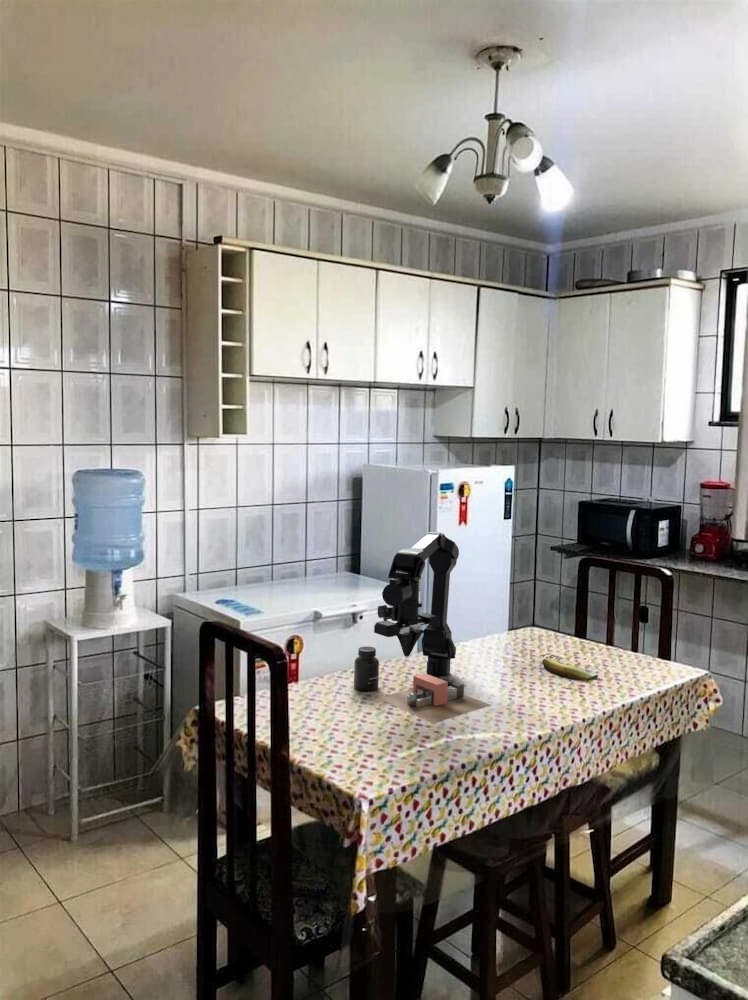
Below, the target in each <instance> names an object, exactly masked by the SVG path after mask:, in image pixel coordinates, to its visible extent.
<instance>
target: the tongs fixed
mask: <svg viewBox="0 0 748 1000" xmlns="http://www.w3.org/2000/svg"><path fill="white" fill-rule="evenodd" d="M442 680H444V681H447V682H448V687H449V686H451V683H455V680H454V679H451V678H448V677H447V678H444V679H442ZM429 691H432V690H429V689H427V688H424V687H422V688H418V689H417V693H409V696H407V703H408V704H409V706H410V707H416V700H417V699H421V698H425V697H426V692H429Z"/></svg>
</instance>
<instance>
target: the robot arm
mask: <svg viewBox="0 0 748 1000" xmlns="http://www.w3.org/2000/svg"><path fill="white" fill-rule="evenodd" d="M459 554H460V550H459V547H458V545H457V544H456V542H455V541H453V540H452V539H449V538H448V537H446V535H445V534H444V533H442V532H437V531H428V532H426V533H425V535H424V537H422V538H421V539H420V540H419V541H418V542H417V543H415V544H414V545H413V546H411V547H410V548H409V547H408V548H403V549H400V550H398V551H397V552H396V553H395V555H394V556H393V559H392V562H391V566H390V569H389V572H388V576H387V578H388V579H389V584H387V585H386V586H384V588H383V590H382V592H381V596H382V600H383V602H384V603H385V604H384V605H378V606H377V616H378V617H377V618H379V619H382V620H381V621H377V622H376V623H375V624H374V626H373V628H374V629H373V633H374V634H377V635H379V636H383V637H386V638H392V637H397V639H398V641H399V644H400V648H401V650H402V653H403V656H404V657H406V658H408V657H410V656H411V654H412V652H413V650H414V648H415V646H416V643H417V642H418V640H419V639H420V637H421V635H422V634H423V635H422V637H421V650H422V656H424V657H425V656H426V657H427V662H426V674H428V675H431V676H433V677H436V678H445V677H447V676H449V674H451V660H452V659H456V653H457V648H456V646H455V643H454V641H453V639H452V630H451V628H450V627H449V624H448V610H449V609H448V607H449V595H450V594H449V592H450V579H451V572H452V571H453V569H454V568H455V567H456V566H457V561H458V558H459ZM427 559H428V564H429V566H430V568H431V570H432V571H433V577H432V578H433V579H432V594H431V607H430V613H428V612H424V613H419V611H420V608H422V607H423V602H420V580H421V579H422V574H423V571H424V569H425V568H426V562H425V561H426V560H427ZM387 605H388V606H390V607H388V606H387ZM390 620H391V621H390ZM423 625H424V626H426V625H427V626H426V627H425V628H424V629H423V630H422V629H421V626H423Z"/></svg>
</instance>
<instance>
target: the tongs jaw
mask: <svg viewBox="0 0 748 1000" xmlns="http://www.w3.org/2000/svg"><path fill="white" fill-rule="evenodd" d="M464 691H465V684H464V683H462V682H458V681H456V682H455V681H454V683H451V686H449V687H448V693H447V701H448V700H452V699H456V698H461V697H464V695H465V694H464V693H465V692H464ZM433 704H434V691H429V692H426V697H425V698H421V699H417V700H416V707H422V706H426V705H433Z"/></svg>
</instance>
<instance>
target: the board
mask: <svg viewBox="0 0 748 1000" xmlns="http://www.w3.org/2000/svg"><path fill="white" fill-rule="evenodd" d="M409 693H413V687H412V688H409V689H406V690H403V691H398V692H395V693H394V692H393V693H391V694H387V695H384V696H380V697H377V698H376V700H379V701H381V702H384V703H386V704H388V705H391V706H393V707H395V708H398V709H400V710H403V711H404V712H407V713H410V714H411V715H413V716H416V717H419V718H421V719H423V720H425V721H428V722H430V723H432V724H435V723H438V722H442V721H445V720H447V719H451V718H455V717H458V716H461V715H464V714H467V713H472V712H474V711H476V710H480V709H485V708H486V707H489V706H490V707H491V704H489V703H488V702H485V701H482V700H479V699H477V698H475V697H472V696H469V695H467V694H464V697H461V698H456V699H452V700H448V701H447V703H445V704H442V705H438V706H435V705H434V704H433V705H426V706H422V707H410V706H409V704H408V703H407V696H409Z"/></svg>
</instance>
